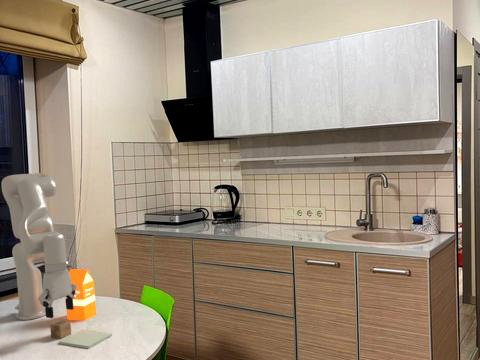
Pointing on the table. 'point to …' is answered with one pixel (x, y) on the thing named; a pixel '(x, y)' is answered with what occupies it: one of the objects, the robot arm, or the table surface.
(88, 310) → the orange juice
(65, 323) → the walnut cube
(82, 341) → the sage board
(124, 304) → the table surface
